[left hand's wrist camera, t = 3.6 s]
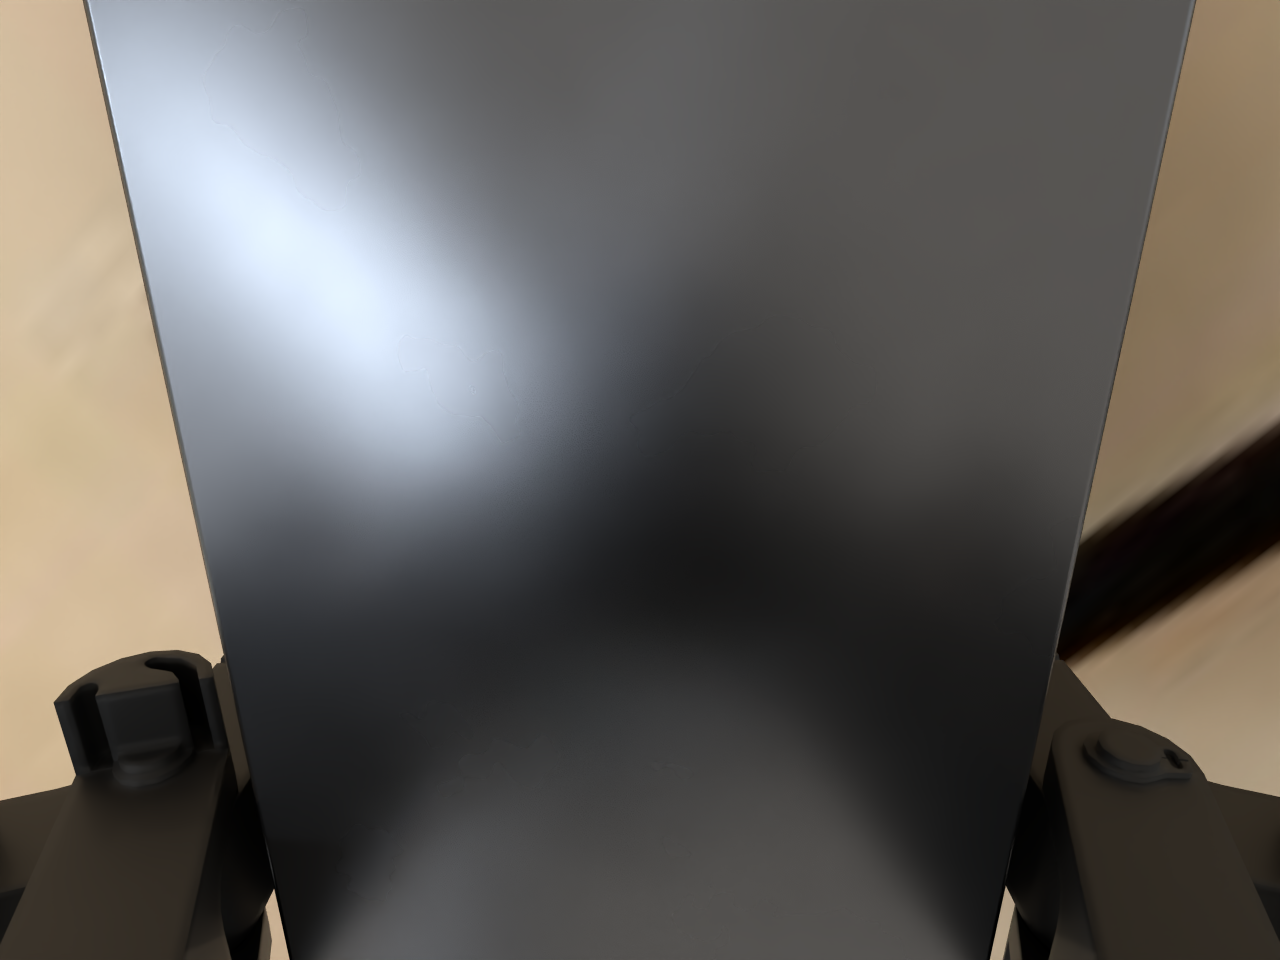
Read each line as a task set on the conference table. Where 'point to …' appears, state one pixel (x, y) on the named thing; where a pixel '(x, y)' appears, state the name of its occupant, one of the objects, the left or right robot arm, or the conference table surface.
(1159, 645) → the conference table surface
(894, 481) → the bar
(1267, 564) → the conference table surface
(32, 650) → the conference table surface
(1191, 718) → the conference table surface
